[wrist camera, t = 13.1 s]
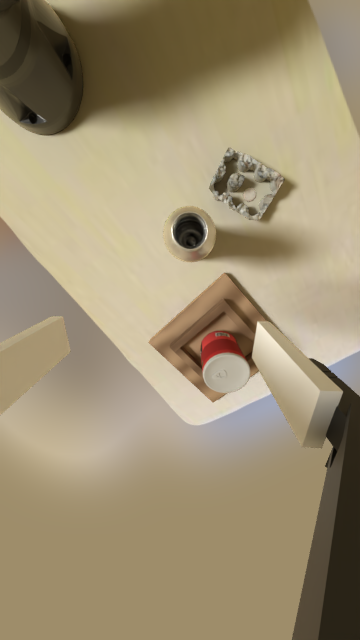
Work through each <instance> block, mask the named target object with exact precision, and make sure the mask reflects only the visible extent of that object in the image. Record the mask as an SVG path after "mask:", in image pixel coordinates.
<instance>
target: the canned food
mask: <svg viewBox="0 0 360 640" xmlns="http://www.w3.org/2000/svg"><path fill="white" fill-rule="evenodd" d="M200 351H201V362H202V373H203V378H204V381H205V383H206V385H207V386H208V387H209V388H211V389H212V390H214V391H216V392H220V393H230V392H234V391H237V390H239V389H241V388H242V387H243V386H244V385H245V384H246V383H247V382H248V380H249V377H250V367H249V364H248V362H247V360H246V358H245V356H244V354H243V353H242V351H241V349H240V347H239V345H238V343H237V341H236V339H235V338H234V337H233V336H232V335H231V334H230V333H228V332H225V331H214V332H211V333H209V334H208V335H206V336H205V337H204V339H203V340H202V342H201V346H200Z"/></svg>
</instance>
